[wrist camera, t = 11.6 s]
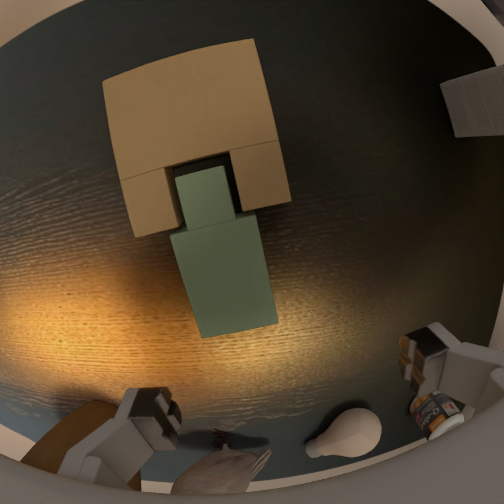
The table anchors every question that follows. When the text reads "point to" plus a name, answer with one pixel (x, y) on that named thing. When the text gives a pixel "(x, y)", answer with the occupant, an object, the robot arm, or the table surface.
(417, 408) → the pill bottle
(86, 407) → the plant pot
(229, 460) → the bird
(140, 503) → the robot arm
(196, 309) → the sage pad
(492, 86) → the cosmetic box
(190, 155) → the sand pad
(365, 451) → the light bulb
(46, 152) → the table surface
